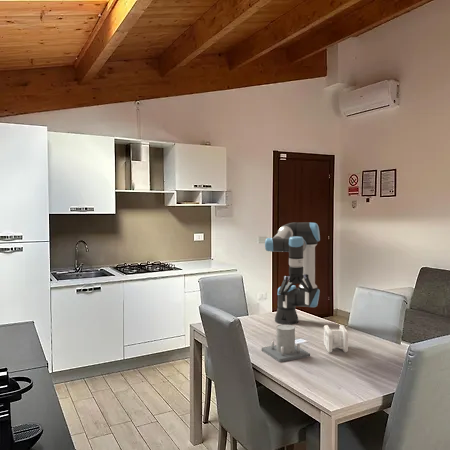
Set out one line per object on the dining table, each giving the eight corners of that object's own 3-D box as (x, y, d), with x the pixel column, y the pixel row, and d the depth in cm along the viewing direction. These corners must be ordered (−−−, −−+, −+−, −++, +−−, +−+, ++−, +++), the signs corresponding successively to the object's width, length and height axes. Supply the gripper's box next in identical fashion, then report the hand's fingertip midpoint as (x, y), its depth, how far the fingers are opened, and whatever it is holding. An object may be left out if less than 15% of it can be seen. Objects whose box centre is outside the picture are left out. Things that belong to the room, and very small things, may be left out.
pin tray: (261, 350, 228) (261, 340, 228) (290, 345, 235) (290, 335, 235) (279, 362, 212) (279, 351, 211) (310, 356, 219) (310, 345, 219)
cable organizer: (348, 354, 221) (348, 332, 220) (327, 354, 222) (327, 332, 221) (342, 345, 236) (342, 324, 235) (322, 344, 237) (322, 323, 236)
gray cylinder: (296, 353, 219) (296, 329, 218) (277, 353, 219) (277, 329, 218) (293, 347, 228) (293, 324, 227) (275, 347, 228) (275, 324, 228)
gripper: (279, 269, 219) (279, 310, 220) (320, 265, 228) (319, 304, 230) (271, 266, 226) (271, 306, 227) (312, 263, 235) (311, 301, 237)
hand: (296, 305), depth 229 cm, fingers open, 13 cm apart
